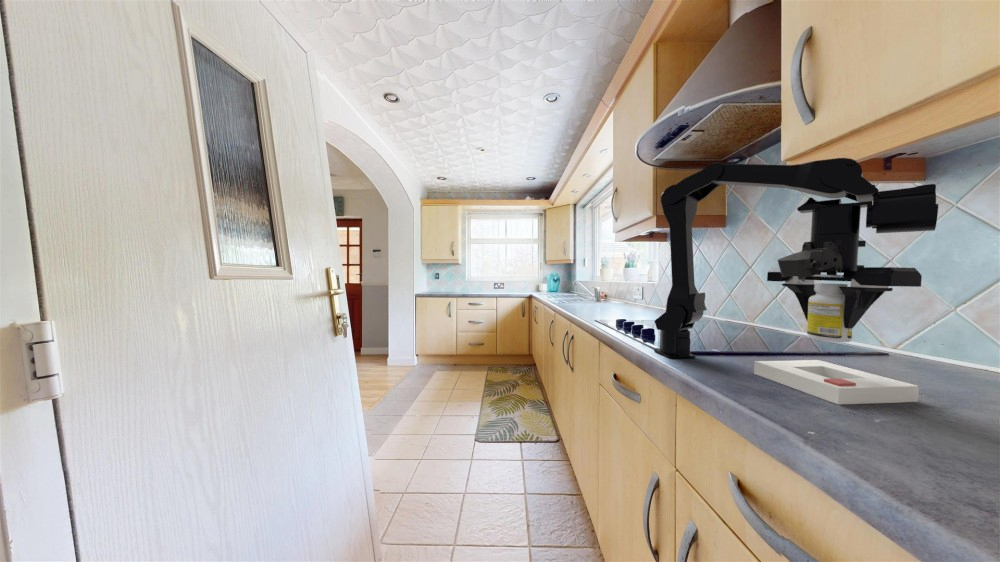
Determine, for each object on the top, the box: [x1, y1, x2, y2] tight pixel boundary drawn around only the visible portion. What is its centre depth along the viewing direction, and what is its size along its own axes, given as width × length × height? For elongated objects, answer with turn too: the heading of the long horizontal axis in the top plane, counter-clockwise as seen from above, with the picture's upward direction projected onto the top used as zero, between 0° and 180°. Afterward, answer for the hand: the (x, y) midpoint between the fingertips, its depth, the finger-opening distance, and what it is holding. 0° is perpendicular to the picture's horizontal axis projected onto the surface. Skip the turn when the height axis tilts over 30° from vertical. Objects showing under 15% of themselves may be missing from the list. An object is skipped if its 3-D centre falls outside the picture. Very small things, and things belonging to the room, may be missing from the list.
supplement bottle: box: [806, 282, 853, 343], centre depth 54 cm, size 5×5×10 cm
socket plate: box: [753, 359, 920, 406], centre depth 55 cm, size 14×14×3 cm
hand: (828, 325), depth 54 cm, fingers closed on supplement bottle, 5 cm apart
